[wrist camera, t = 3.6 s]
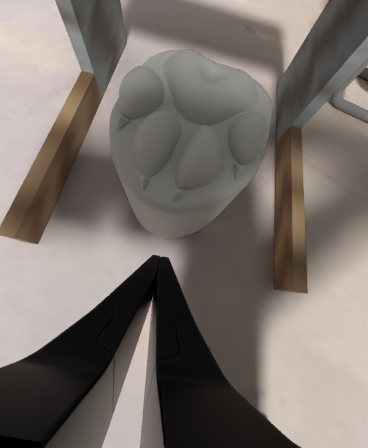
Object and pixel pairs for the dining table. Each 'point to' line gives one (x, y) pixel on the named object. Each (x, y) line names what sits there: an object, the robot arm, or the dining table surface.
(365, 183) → the dining table surface
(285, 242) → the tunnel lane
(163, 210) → the grey animal paw
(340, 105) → the newton's cradle
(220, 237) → the dining table surface
